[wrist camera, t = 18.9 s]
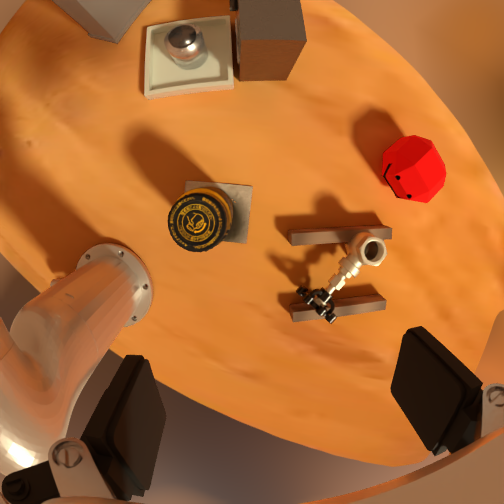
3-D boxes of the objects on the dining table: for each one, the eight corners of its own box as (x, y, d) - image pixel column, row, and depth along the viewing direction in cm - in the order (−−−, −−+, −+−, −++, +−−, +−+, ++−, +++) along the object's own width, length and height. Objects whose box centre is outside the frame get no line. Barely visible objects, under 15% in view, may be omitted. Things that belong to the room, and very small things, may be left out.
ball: (366, 162, 35) (394, 159, 28) (401, 131, 34) (432, 125, 27) (396, 207, 37) (426, 215, 29) (428, 176, 36) (460, 178, 28)
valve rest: (289, 313, 40) (293, 322, 37) (287, 230, 37) (291, 233, 34) (378, 302, 40) (385, 309, 38) (383, 224, 37) (391, 227, 35)
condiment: (185, 180, 35) (161, 180, 23) (252, 186, 35) (260, 189, 24) (181, 236, 36) (156, 262, 25) (246, 242, 37) (250, 272, 25)
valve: (349, 218, 37) (292, 285, 39) (365, 219, 31) (298, 298, 32) (380, 249, 38) (326, 313, 39) (401, 255, 31) (338, 331, 32)
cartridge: (183, 75, 30) (172, 57, 25) (169, 53, 30) (156, 33, 24) (214, 59, 30) (208, 38, 24) (198, 37, 29) (191, 15, 23)
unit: (233, 81, 32) (232, 40, 20) (230, 22, 29) (228, -28, 17) (287, 80, 32) (308, 41, 20) (280, 21, 29) (296, -27, 18)
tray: (148, 99, 31) (144, 96, 29) (150, 33, 29) (147, 26, 27) (233, 89, 32) (233, 84, 30) (230, 22, 29) (229, 15, 27)
